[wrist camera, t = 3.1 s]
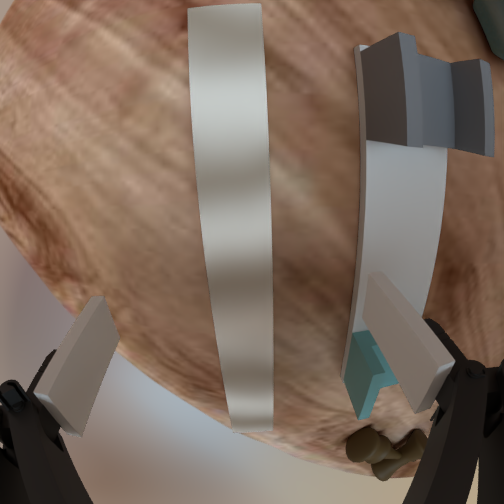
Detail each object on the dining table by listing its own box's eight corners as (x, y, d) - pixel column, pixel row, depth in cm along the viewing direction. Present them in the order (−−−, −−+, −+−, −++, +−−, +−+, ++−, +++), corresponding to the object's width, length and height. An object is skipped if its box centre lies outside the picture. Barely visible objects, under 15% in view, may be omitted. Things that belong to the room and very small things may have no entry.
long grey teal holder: (401, 362, 26) (424, 403, 21) (340, 375, 26) (357, 423, 21) (435, 64, 15) (488, 55, 9) (353, 48, 15) (396, 23, 9)
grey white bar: (268, 389, 27) (273, 430, 22) (232, 391, 27) (233, 432, 22) (255, 33, 15) (261, 3, 10) (199, 36, 14) (187, 8, 10)
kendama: (383, 407, 31) (432, 433, 36) (326, 442, 33) (389, 460, 39) (397, 444, 25) (443, 458, 31) (333, 476, 28) (396, 485, 33)
